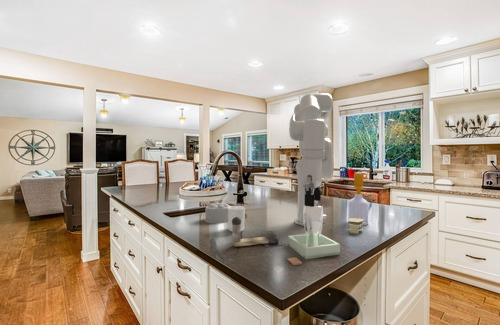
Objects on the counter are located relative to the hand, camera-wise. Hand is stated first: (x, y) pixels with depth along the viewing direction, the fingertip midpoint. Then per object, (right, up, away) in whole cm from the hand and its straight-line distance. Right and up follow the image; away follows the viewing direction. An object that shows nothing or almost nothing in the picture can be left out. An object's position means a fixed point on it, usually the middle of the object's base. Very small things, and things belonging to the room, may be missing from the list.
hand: (312, 203), depth 90 cm
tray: (0, -17, 0) cm, 16 cm away
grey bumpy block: (-39, -15, +39) cm, 57 cm away
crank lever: (-20, -16, +5) cm, 26 cm away
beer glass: (0, -16, 0) cm, 16 cm away
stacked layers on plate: (+24, -16, +21) cm, 36 cm away
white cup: (-29, -16, +23) cm, 40 cm away
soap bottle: (+31, -16, +35) cm, 49 cm away
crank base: (-11, -16, -1) cm, 20 cm away
